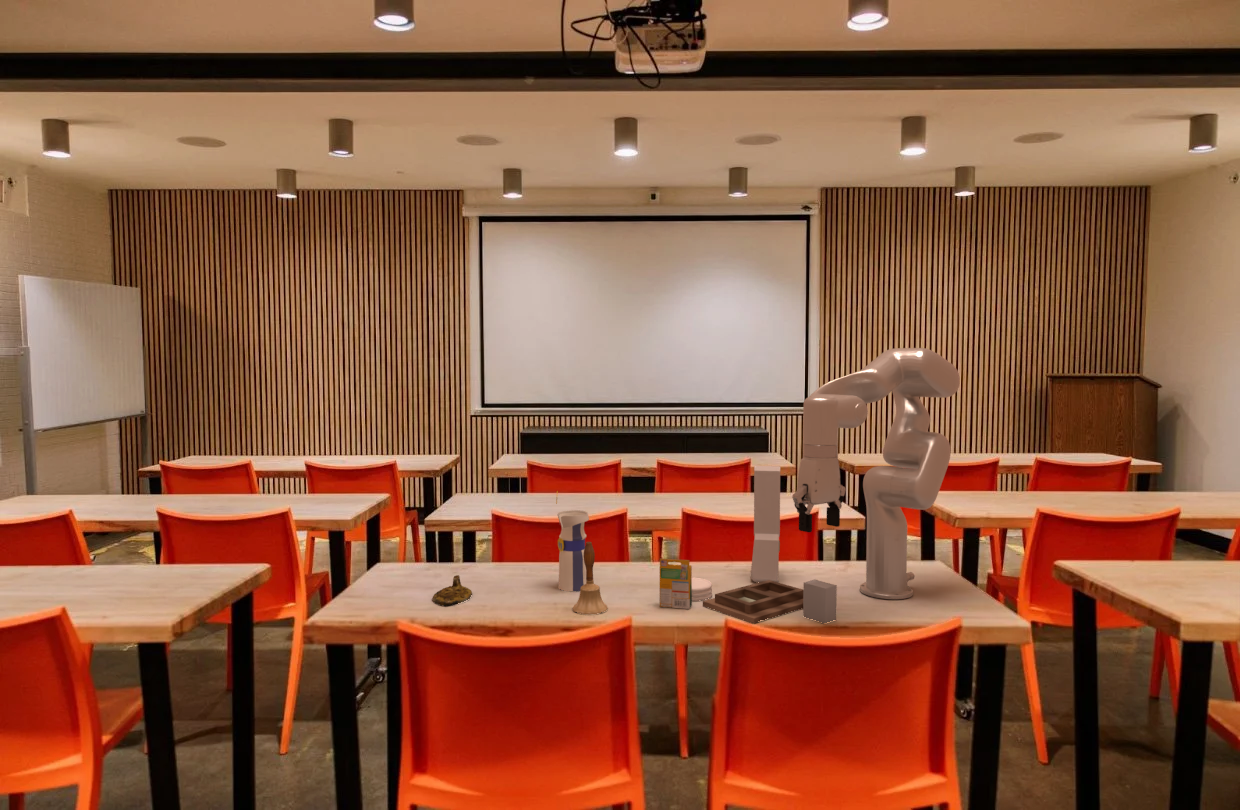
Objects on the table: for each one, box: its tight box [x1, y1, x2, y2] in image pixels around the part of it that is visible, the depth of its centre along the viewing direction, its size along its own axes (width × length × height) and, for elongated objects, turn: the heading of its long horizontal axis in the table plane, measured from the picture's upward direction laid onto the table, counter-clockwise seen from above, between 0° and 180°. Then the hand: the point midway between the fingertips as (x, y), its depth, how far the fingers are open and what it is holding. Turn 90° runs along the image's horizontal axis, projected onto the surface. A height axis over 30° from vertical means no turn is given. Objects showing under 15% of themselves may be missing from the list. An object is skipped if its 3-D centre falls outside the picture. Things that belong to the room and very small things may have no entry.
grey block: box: [802, 579, 838, 624], centre depth 176 cm, size 4×6×8 cm, turn 38°
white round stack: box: [692, 577, 713, 602], centre depth 194 cm, size 10×10×4 cm
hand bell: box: [572, 541, 609, 615], centre depth 183 cm, size 8×8×16 cm
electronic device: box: [750, 465, 781, 583], centre depth 209 cm, size 12×8×30 cm, turn 168°
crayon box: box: [659, 558, 693, 610], centre depth 185 cm, size 7×3×12 cm, turn 75°
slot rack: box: [702, 580, 803, 624], centre depth 186 cm, size 22×16×3 cm
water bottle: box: [555, 490, 590, 592], centre depth 201 cm, size 8×9×25 cm
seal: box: [432, 574, 473, 607], centre depth 193 cm, size 9×5×15 cm
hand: (819, 528), depth 175 cm, fingers open, 9 cm apart
